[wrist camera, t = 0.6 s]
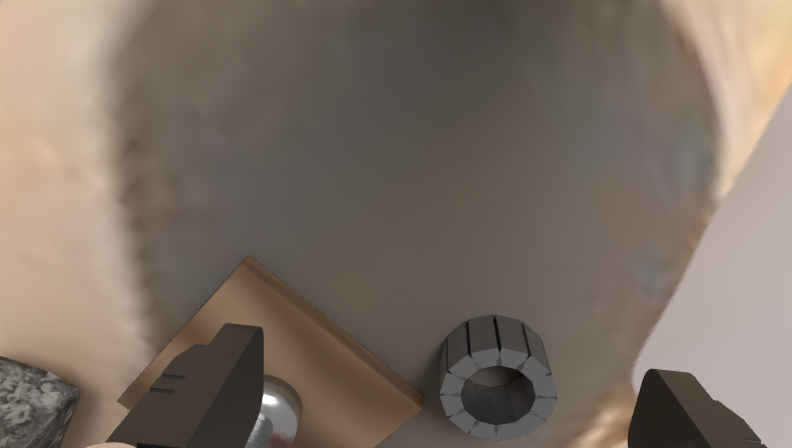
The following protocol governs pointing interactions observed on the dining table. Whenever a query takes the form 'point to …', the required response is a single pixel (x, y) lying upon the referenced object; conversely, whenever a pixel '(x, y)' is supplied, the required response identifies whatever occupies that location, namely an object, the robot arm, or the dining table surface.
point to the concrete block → (33, 406)
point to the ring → (503, 405)
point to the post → (277, 416)
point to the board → (300, 362)
